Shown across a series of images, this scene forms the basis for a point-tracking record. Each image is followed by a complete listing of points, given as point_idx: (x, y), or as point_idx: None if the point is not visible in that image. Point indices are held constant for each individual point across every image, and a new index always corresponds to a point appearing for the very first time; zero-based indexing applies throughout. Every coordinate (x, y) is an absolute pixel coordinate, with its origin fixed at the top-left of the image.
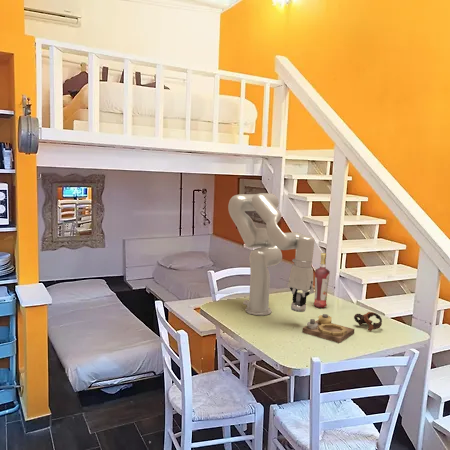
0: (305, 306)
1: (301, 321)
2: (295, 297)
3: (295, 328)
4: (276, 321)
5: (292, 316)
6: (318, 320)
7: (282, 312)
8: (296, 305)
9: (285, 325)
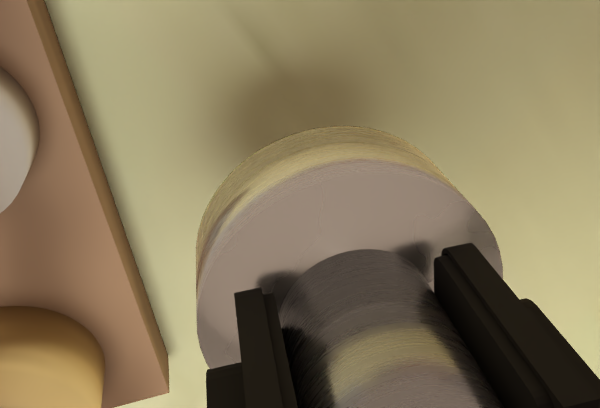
0: (205, 356)
1: None
2: (495, 376)
3: (213, 34)
4: (522, 30)
5: None
6: (69, 345)
7: (593, 287)
8: (337, 223)
9: (368, 10)
